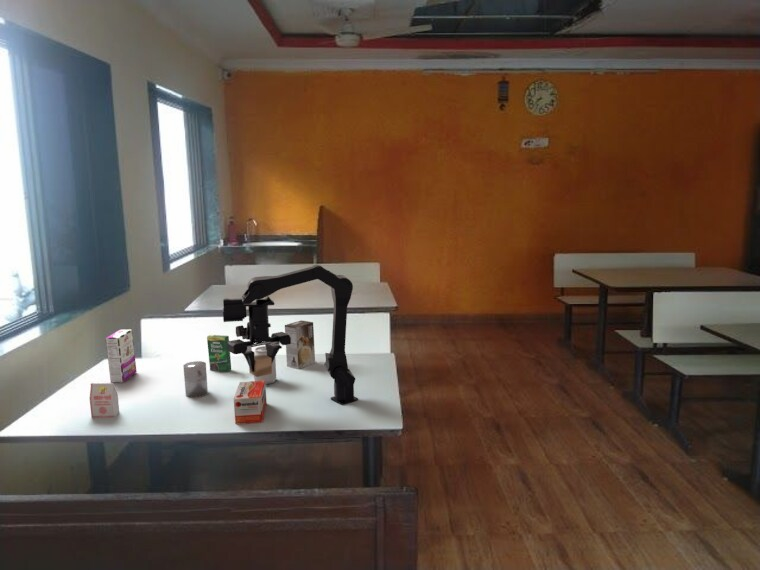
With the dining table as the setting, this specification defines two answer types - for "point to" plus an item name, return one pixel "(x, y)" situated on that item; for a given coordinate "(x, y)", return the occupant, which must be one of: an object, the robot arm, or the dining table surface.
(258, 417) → the medicine box
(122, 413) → the dining table surface
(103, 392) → the white paper food packet
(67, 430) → the dining table surface
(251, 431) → the dining table surface
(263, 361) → the light brown wooden cube
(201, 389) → the grey metal cylinder
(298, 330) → the coffee box
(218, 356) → the coffee box
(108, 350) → the candy bar box
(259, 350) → the can
